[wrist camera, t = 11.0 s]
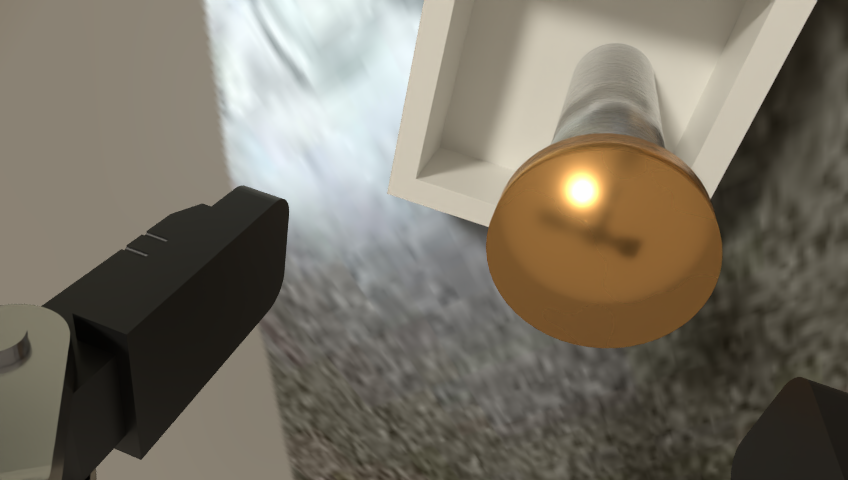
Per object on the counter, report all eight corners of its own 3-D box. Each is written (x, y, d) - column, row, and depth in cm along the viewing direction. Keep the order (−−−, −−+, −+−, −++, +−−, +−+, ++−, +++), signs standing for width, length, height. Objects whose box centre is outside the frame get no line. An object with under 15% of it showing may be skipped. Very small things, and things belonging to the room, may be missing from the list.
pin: (574, 8, 21) (521, 121, 11) (696, 41, 21) (769, 196, 10) (537, 121, 24) (463, 305, 13) (646, 153, 23) (662, 376, 12)
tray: (479, -124, 21) (448, -129, 17) (797, -46, 20) (834, -33, 16) (418, 154, 27) (387, 193, 23) (659, 230, 25) (664, 285, 22)
